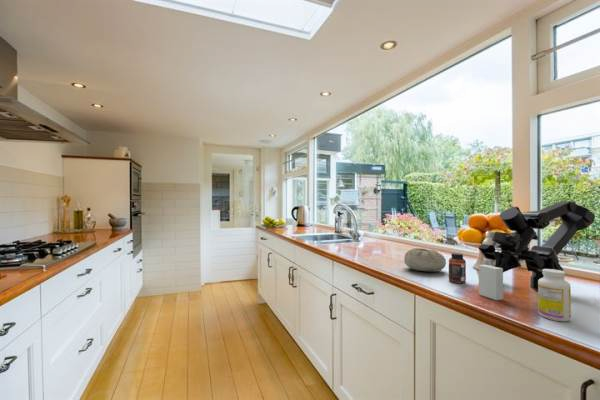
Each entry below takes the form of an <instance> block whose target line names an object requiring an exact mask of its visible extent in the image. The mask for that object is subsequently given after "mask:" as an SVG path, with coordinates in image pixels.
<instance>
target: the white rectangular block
mask: <svg viewBox="0 0 600 400" xmlns="http://www.w3.org/2000/svg"><path fill="white" fill-rule="evenodd" d="M478 295H480V296H482V297H486V298H489V299H491V300H494V301H502V300H504V272H503V268H498V267H494V266H489V265H483V264H479V265H478Z"/></svg>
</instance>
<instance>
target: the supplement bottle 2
mask: <svg viewBox="0 0 600 400" xmlns="http://www.w3.org/2000/svg"><path fill="white" fill-rule="evenodd" d="M542 274H543V275H544V277H543V278H540V279H539V280H538V291H537V300H538V301H537V309H538V315H540V317H542V318H545V319H548V320H551V321H554V322H555V321H556V322H570V321H571V320H572V312H571V311H572V307H571V306H572V305H571V303H572V302H571V297H572V296H571V295H572V293H571V283H570V282H569V281H568V280H565V277H566V271H564V270H563V271H561V270H555V269H543V270H542Z"/></svg>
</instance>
